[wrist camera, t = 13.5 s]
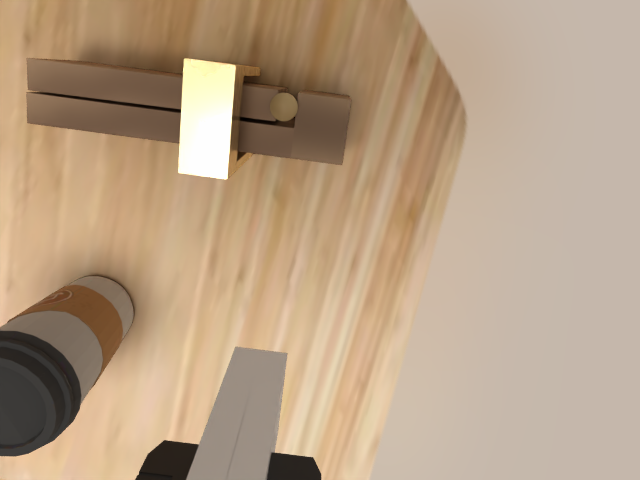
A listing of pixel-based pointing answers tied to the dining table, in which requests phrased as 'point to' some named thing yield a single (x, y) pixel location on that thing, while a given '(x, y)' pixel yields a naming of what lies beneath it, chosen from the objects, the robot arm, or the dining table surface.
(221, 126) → the lock collar
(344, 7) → the dining table surface
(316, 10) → the dining table surface
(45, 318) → the coffee cup
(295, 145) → the base
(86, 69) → the tong arm
